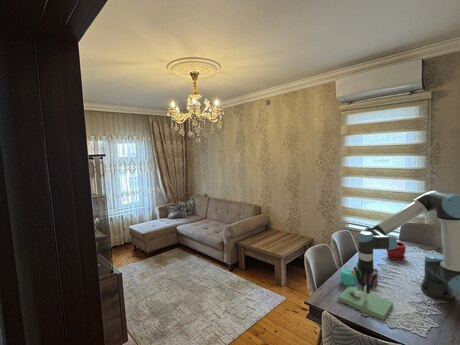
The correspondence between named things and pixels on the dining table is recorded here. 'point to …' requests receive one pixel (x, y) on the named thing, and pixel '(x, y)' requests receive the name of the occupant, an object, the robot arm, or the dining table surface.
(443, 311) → the dining table surface
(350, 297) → the green
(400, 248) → the plant pot
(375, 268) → the puzzle cube
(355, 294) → the ball
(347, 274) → the decorative dice
